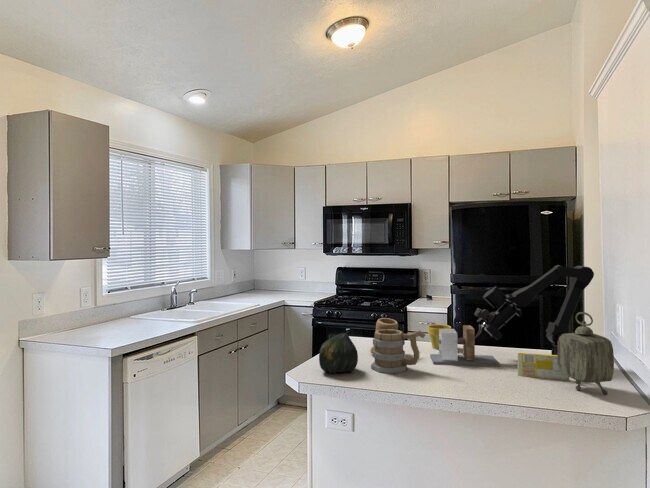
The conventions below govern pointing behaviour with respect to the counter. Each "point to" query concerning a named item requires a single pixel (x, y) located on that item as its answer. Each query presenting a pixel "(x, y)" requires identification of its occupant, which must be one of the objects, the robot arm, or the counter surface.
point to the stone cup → (385, 326)
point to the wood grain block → (467, 342)
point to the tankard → (393, 350)
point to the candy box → (539, 366)
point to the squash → (338, 354)
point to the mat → (479, 360)
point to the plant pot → (436, 334)
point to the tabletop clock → (586, 356)
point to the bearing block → (448, 345)
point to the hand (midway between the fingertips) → (473, 342)
